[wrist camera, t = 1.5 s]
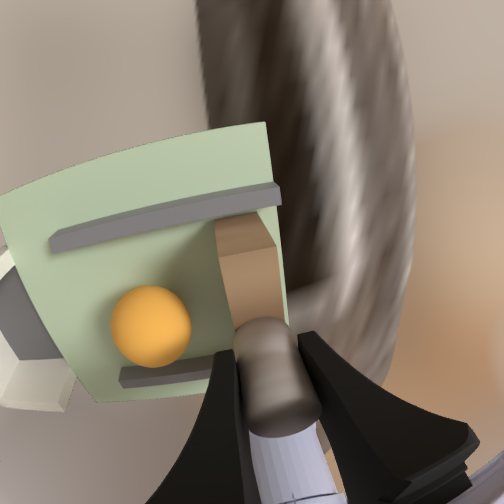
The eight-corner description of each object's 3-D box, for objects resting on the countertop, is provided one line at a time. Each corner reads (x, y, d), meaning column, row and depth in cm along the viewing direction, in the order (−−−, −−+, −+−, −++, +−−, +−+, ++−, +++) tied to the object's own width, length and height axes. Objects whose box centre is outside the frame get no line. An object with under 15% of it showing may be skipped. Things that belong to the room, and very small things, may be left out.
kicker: (277, 340, 17) (318, 456, 10) (238, 348, 17) (262, 469, 10) (260, 210, 14) (325, 315, 6) (209, 220, 13) (220, 338, 6)
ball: (199, 325, 16) (202, 378, 13) (134, 336, 16) (123, 387, 12) (181, 263, 14) (176, 311, 11) (109, 278, 14) (87, 325, 11)
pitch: (288, 363, 20) (306, 411, 16) (37, 391, 19) (23, 429, 14) (260, 121, 13) (284, 122, 9) (-53, 223, 12) (-92, 250, 8)
